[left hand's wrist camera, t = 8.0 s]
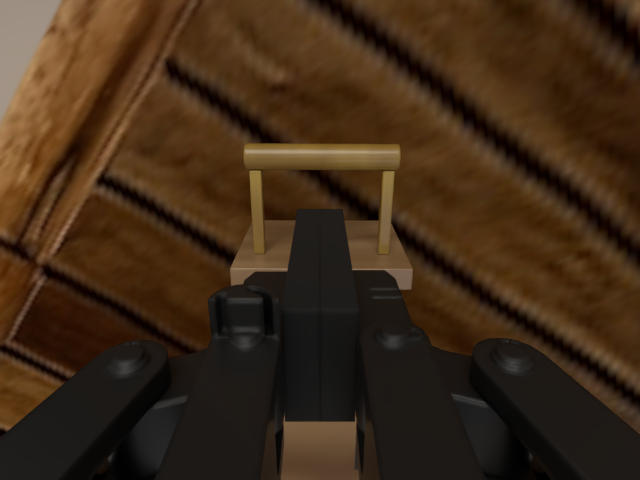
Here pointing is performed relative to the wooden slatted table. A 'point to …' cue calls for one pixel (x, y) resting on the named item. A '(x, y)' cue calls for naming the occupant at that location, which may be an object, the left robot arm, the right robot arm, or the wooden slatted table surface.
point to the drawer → (363, 236)
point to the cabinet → (319, 451)
